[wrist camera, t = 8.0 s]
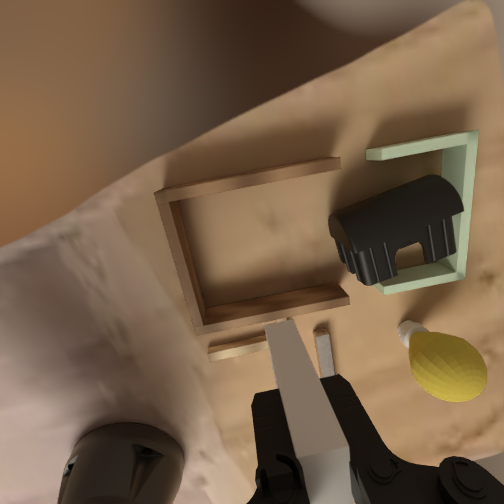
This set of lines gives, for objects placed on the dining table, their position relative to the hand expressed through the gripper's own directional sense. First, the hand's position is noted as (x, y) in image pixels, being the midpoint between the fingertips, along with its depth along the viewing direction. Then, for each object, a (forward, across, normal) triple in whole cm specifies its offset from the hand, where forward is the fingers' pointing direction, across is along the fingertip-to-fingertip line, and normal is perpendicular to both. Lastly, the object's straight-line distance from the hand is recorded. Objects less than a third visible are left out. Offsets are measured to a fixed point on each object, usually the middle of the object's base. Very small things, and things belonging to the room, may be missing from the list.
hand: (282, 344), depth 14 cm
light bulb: (+17, +18, -15) cm, 28 cm away
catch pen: (+16, +18, 0) cm, 24 cm away
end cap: (+17, +14, 0) cm, 21 cm away
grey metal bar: (+17, +7, -17) cm, 25 cm away
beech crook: (+17, -2, -10) cm, 20 cm away
